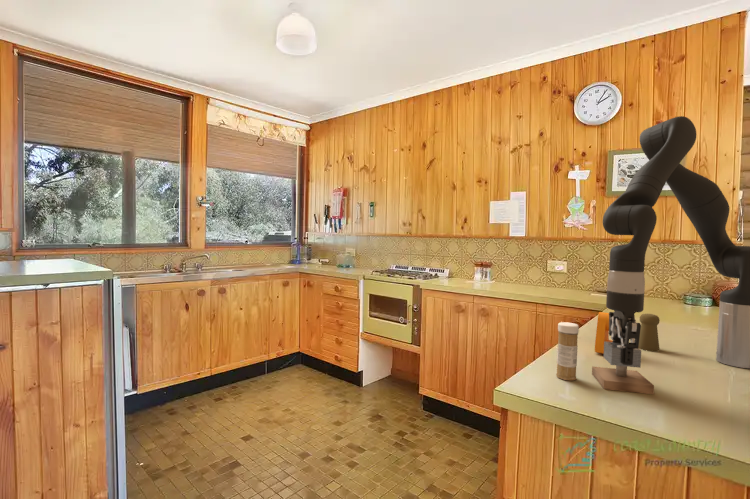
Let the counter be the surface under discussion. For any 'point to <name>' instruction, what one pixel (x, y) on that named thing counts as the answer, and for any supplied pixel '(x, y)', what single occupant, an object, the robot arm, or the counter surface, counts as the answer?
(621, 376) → the wooden peg stand
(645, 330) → the olive pawn shape
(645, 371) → the counter surface
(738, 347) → the robot arm
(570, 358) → the sprinkles bottle
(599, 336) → the bracket
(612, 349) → the collar
